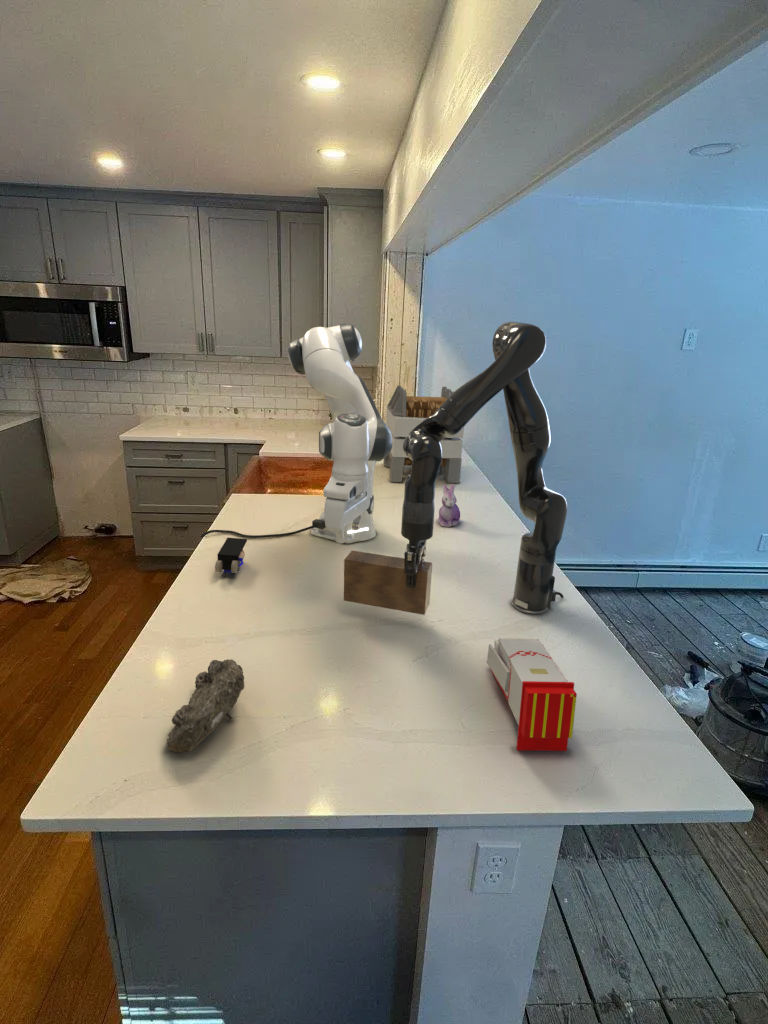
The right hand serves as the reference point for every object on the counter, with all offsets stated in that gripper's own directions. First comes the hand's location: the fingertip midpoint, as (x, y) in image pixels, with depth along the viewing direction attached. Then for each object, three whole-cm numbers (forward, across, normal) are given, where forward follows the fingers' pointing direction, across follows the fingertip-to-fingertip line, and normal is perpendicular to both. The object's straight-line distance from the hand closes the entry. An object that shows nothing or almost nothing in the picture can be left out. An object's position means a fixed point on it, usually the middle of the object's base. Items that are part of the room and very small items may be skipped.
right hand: (413, 581), depth 139 cm
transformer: (+12, +138, +29) cm, 141 cm away
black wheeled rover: (+12, +12, +57) cm, 60 cm away
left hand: (-9, +2, +18) cm, 20 cm away
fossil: (+12, -46, +28) cm, 55 cm away
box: (+7, 0, +7) cm, 10 cm away
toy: (+12, -22, -28) cm, 38 cm away
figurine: (+12, +75, +4) cm, 76 cm away
